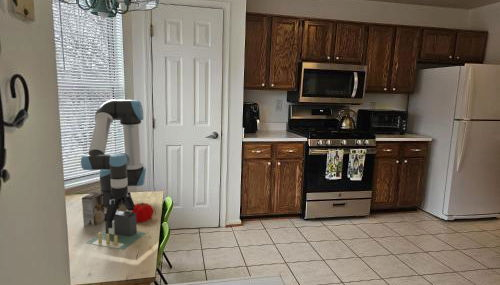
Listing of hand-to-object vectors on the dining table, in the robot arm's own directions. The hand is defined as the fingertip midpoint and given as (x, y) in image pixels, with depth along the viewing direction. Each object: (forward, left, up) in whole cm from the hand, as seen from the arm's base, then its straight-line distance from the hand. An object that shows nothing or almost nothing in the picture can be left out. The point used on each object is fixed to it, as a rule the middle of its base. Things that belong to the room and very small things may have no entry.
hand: (120, 228), depth 161 cm
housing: (0, 0, -2) cm, 2 cm away
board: (+5, +2, -4) cm, 7 cm away
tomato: (-19, 0, -4) cm, 19 cm away
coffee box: (-7, -21, -4) cm, 22 cm away
